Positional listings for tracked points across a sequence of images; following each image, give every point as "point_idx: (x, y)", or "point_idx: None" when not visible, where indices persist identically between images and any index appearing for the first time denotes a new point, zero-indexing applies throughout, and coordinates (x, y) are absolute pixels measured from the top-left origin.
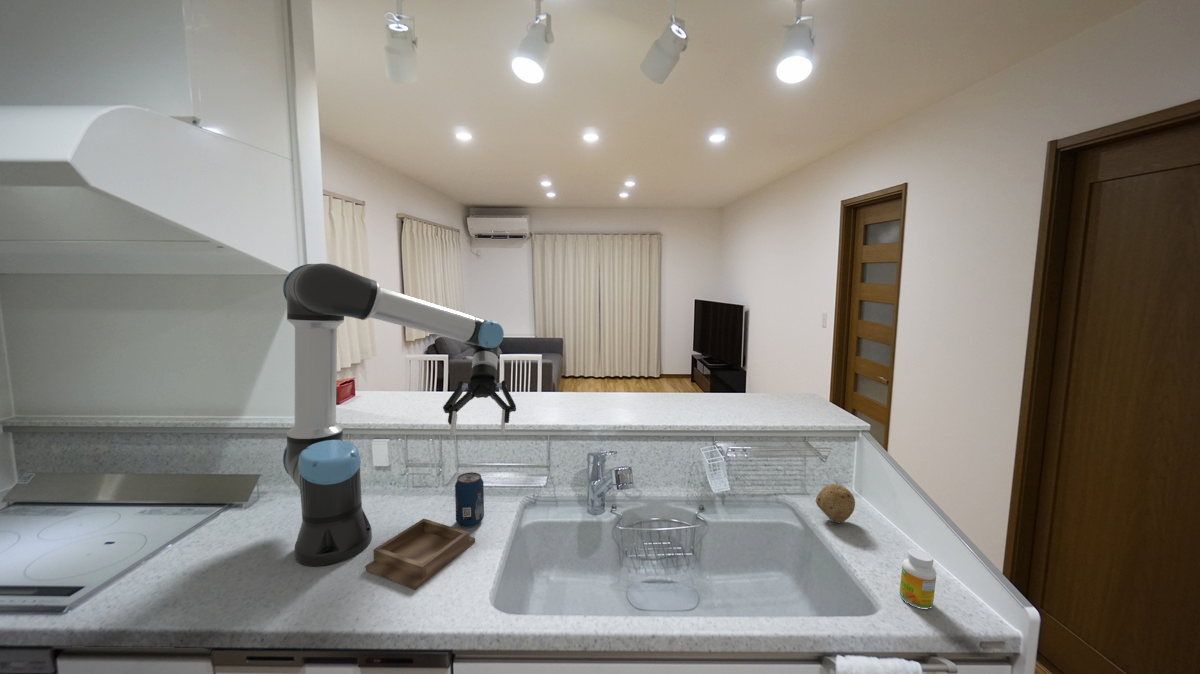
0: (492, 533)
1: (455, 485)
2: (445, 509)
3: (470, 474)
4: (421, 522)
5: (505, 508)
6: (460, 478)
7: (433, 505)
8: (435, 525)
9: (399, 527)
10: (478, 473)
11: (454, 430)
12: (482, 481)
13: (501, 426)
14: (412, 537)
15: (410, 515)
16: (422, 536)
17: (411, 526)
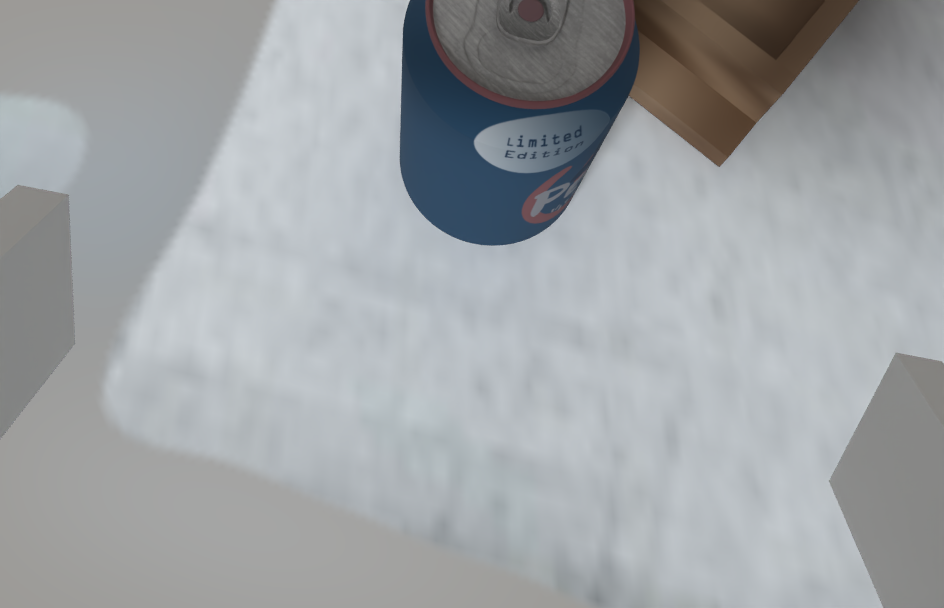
0: (357, 11)
1: (636, 26)
2: (655, 373)
3: (520, 93)
4: (785, 51)
5: (246, 278)
6: (607, 31)
7: (744, 454)
8: (696, 2)
9: (897, 221)
10: (447, 58)
11: (880, 495)
12: (411, 11)
13: (16, 232)
14: (800, 30)
15: (868, 351)
16: (748, 38)
17: (834, 23)
